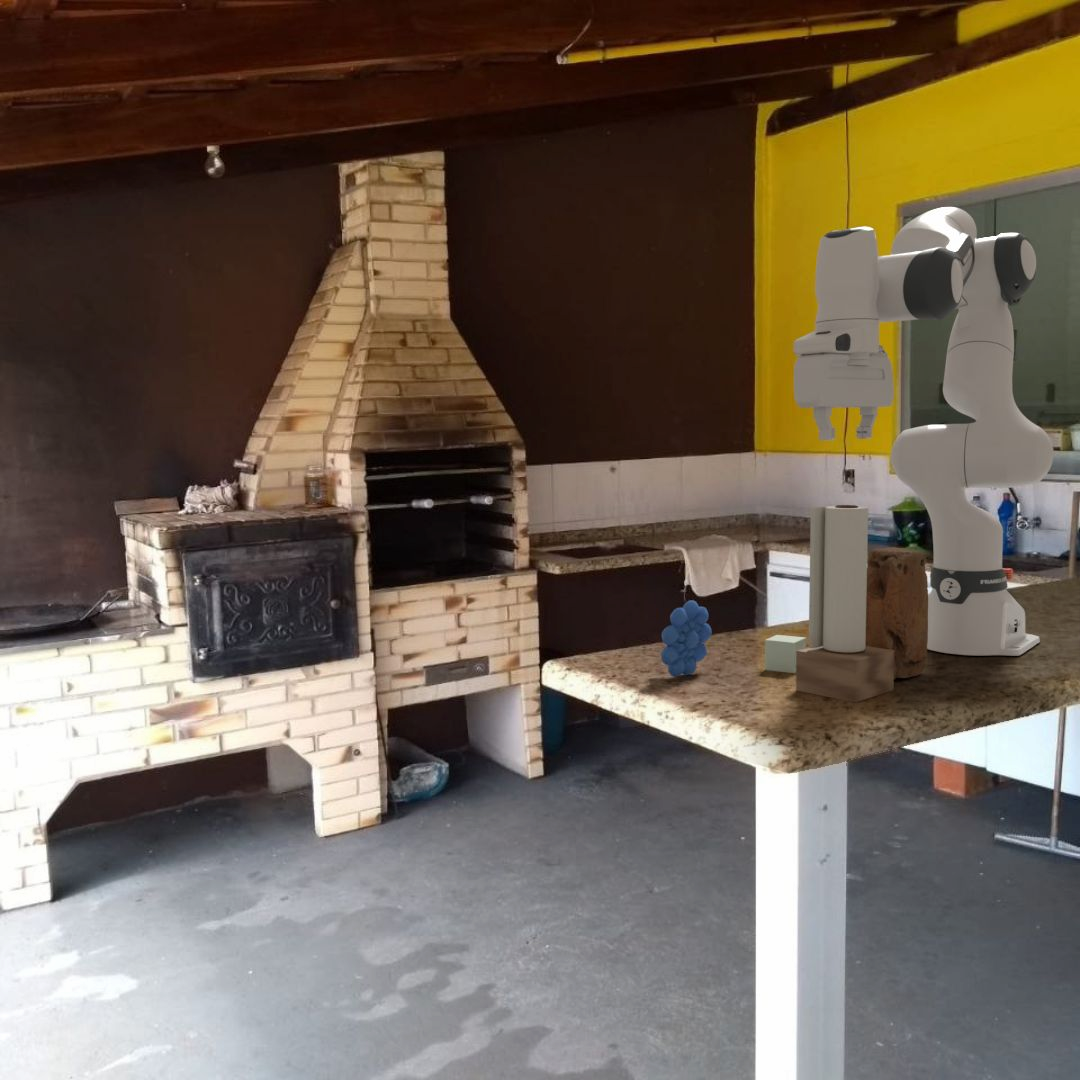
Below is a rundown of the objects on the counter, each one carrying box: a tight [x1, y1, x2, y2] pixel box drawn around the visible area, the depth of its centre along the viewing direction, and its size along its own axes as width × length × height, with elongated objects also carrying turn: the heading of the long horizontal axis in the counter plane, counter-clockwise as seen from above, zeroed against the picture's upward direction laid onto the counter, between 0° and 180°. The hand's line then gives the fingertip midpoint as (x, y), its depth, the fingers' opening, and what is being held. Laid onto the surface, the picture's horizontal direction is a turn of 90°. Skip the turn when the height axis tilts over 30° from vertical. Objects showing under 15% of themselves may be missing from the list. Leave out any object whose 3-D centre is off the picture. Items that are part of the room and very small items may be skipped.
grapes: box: [660, 599, 713, 678], centre depth 167 cm, size 12×7×12 cm, turn 134°
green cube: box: [764, 634, 807, 674], centre depth 171 cm, size 5×5×5 cm
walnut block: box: [795, 646, 894, 703], centre depth 155 cm, size 10×10×6 cm
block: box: [865, 546, 929, 680], centre depth 163 cm, size 11×8×20 cm
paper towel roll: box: [808, 504, 869, 653], centre depth 155 cm, size 7×6×21 cm
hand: (845, 439), depth 152 cm, fingers open, 8 cm apart
